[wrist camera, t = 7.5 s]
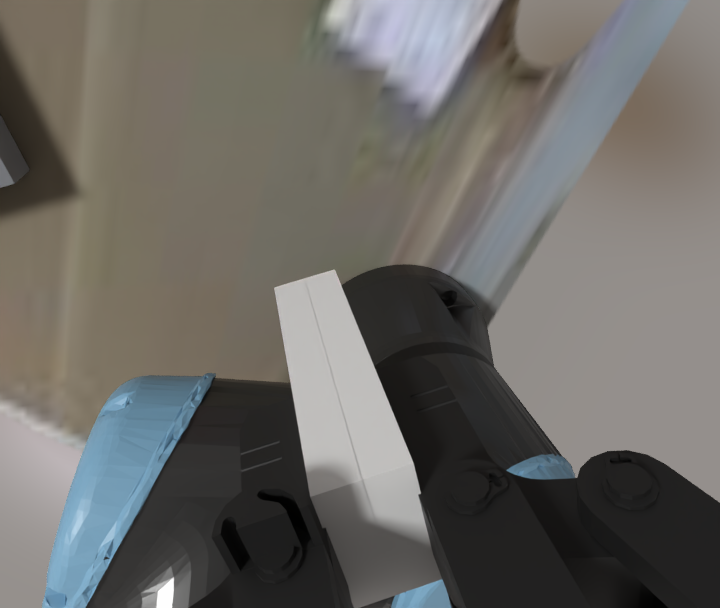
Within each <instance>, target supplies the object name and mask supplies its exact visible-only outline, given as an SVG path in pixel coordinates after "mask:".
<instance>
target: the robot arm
mask: <svg viewBox="0 0 720 608" xmlns="http://www.w3.org/2000/svg"><path fill="white" fill-rule="evenodd" d="M274 289H275V295H276V301H277V307H278V312H279V318H280V324H281V330H282V336H283V341H284V347H285V353H286V359H287V365H288V370H289V376H290V382H291V383H282V382H266V381H251V380H235V379H220V378H215V377H216V374H215V373H207V374H205V375H204V376H152V375H149V376H141V377H137V378H134V379H131V380H129V381H127V382H125V383H124V384H122V385H121V386H120V387H118V388H117V389H116V390H115V391H114V392H113V393H112V395H111V396H110V397H109V398H108V400H107V401H106V403H105V405H104V406H103V408H102V410H101V411H100V413H99V415H98V417H97V419H96V422H95V424H94V426H93V428H92V431H91V433H90V436H89V438H88V440H87V443H86V445H85V448H84V451H83V453H82V456H81V459H80V461H79V464H78V467H77V470H76V473H75V476H74V479H73V482H72V484H71V488H70V491H69V494H68V497H67V500H66V504H65V507H64V510H63V513H62V517H61V520H60V524H59V528H58V531H57V535H56V538H55V542H54V546H53V550H52V554H51V558H50V563H49V568H48V573H47V587H46V592H45V598H44V600H43V603H42V608H720V503H719V502H718V501H716V500H715V499H713V498H712V497H711V496H709V495H708V494H706V493H705V492H704V491H702V490H701V489H699V488H698V487H697V486H695V485H694V484H692V483H691V482H690V481H688V480H687V479H685V478H684V477H683V476H681V475H680V474H678V473H677V472H675V471H674V470H673V469H671V468H670V467H668V466H667V465H666V464H664V463H662V462H660V461H658V460H656V459H654V458H652V457H650V456H648V455H646V454H641V453H636V452H632V451H627V450H625V451H607V452H605V453H602V454H599V455H597V456H594V457H591V458H590V459H589V461H587V462H586V463H585V464H584V465H583V466H582V467H581V468H580V471H579V474H578V478H575V474H574V472H573V470H572V466H571V465H570V464H569V462H568V461H567V460H566V459H565V458H564V457H562V455H561V454H560V453H559V451H558V450H557V449H556V447H555V446H554V445H553V444H552V442H551V441H550V440H549V438H548V437H547V436H546V435H545V433H544V432H543V431H542V429H541V428H540V427H539V425H538V424H537V423H536V421H535V420H534V419H533V417H532V416H531V415H530V414H529V412H528V411H527V410H526V408H525V407H524V406H523V404H522V403H521V402H520V400H519V399H518V398H517V397H516V395H515V394H514V393H513V391H512V390H511V389H510V387H509V386H508V385H507V383H506V382H505V381H504V380H503V378H502V377H501V376H500V375H499V373H498V372H497V370H496V369H495V368H494V364H493V359H492V353H491V347H490V341H489V335H488V330H487V326H486V323H485V320H484V318H483V315H482V313H481V311H480V310H479V308H478V306H477V305H476V304H475V302H474V301H473V300H472V298H471V297H470V296H469V295H468V294H467V292H466V291H465V290H464V289H463V288H462V287H461V286H460V285H459V284H458V283H457V282H456V281H454V280H453V279H452V278H450V277H449V276H447V275H445V274H443V273H441V272H439V271H437V270H434V269H431V268H427V267H423V266H417V265H393V266H386V267H381V268H377V269H374V270H371V271H368V272H365V273H363V274H360V275H358V276H356V277H354V278H353V279H351V280H349V281H347V282H346V283H344V284H343V285H341V284H340V281H339V279H338V276H337V274H336V271H335V269H334V270H331V271H328V272H324V273H321V274H318V275H314V276H311V277H308V278H304V279H301V280H298V281H294V282H291V283H288V284H284V285H281V286H278V287H274Z"/></svg>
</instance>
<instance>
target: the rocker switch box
mask: <svg viewBox="0 0 720 608" xmlns="http://www.w3.org/2000/svg"><path fill="white" fill-rule="evenodd" d="M28 171H30V169H29V167H28V165H27V164H26V162H25V160H24V158H23V156H22V154H21V152H20V150H19V149H18V147H17V145H16V143H15V141H14V139H13V137H12V135H11V134H10V132H9V130H8V128H7V126H6V124H5V122H4V120H3V119H2V117H1V115H0V188H1V187H5V186H8V185H12V184H15V183H16V182H17V181H18V180H19V179H21V178H22V177H23V176H24V175H25V174H26V173H27V172H28Z"/></svg>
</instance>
